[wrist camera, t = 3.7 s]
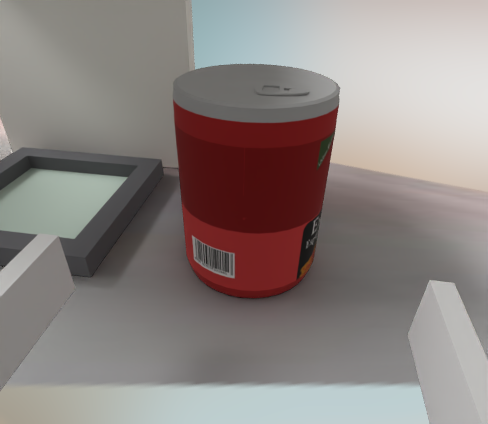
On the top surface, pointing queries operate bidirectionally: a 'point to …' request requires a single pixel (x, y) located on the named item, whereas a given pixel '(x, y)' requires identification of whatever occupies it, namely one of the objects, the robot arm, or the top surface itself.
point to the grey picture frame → (71, 201)
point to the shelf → (94, 74)
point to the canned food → (253, 172)
